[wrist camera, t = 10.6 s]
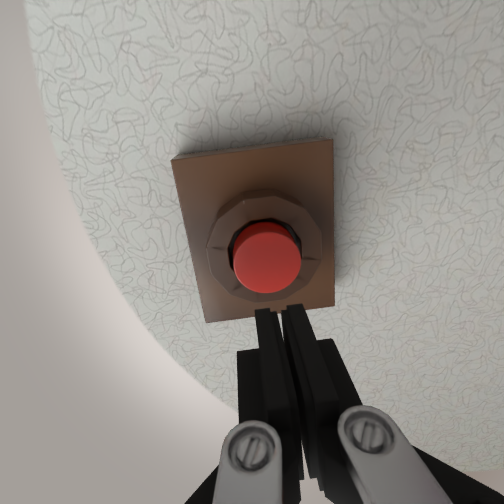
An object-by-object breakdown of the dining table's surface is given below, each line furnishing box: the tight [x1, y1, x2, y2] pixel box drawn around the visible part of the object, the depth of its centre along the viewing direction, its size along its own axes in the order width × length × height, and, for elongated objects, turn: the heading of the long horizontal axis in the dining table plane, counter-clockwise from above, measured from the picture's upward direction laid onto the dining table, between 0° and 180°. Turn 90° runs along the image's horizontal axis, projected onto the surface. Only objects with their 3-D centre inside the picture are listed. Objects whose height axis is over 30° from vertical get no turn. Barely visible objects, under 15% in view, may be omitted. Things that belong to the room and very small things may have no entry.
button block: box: [171, 136, 335, 323], centre depth 20 cm, size 11×9×4 cm
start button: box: [233, 222, 301, 293], centre depth 17 cm, size 4×4×2 cm
